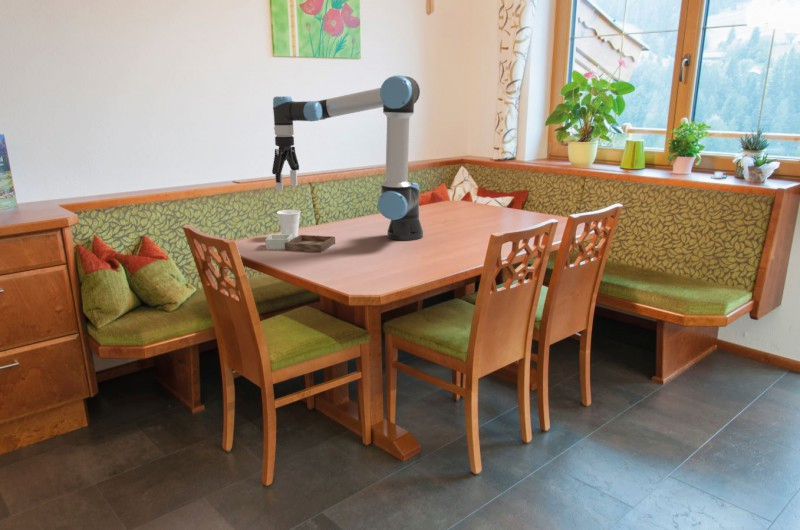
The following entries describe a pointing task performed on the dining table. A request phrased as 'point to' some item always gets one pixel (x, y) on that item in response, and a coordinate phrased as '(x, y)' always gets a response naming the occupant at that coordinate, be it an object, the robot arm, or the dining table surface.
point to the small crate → (277, 241)
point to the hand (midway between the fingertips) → (287, 188)
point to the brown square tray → (310, 243)
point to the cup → (289, 221)
